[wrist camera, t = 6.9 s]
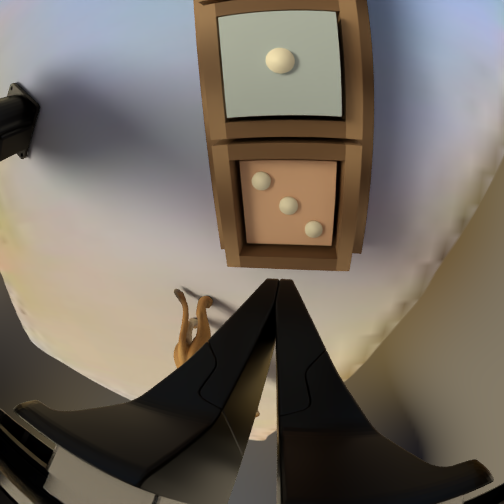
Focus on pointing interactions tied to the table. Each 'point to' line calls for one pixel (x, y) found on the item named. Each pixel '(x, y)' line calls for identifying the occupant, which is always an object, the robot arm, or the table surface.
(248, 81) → the button
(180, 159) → the table surface
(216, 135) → the button board
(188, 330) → the lion figurine
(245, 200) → the three-pip button
